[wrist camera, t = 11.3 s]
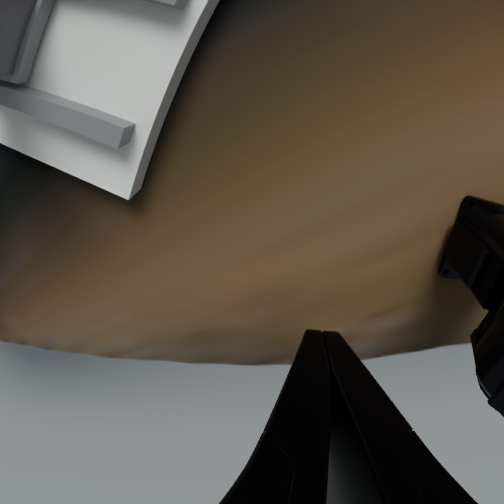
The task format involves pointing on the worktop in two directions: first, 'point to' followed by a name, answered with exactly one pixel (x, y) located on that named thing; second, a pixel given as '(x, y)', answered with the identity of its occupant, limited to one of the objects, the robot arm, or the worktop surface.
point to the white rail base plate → (102, 86)
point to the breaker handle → (20, 36)
